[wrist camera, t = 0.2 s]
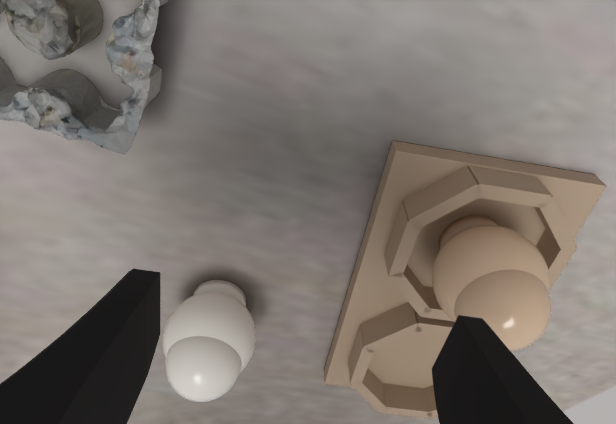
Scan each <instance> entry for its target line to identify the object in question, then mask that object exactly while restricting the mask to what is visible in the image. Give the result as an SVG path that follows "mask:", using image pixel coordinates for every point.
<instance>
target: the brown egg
mask: <svg viewBox="0 0 616 424" xmlns="http://www.w3.org/2000/svg"><path fill="white" fill-rule="evenodd" d="M439 249H440V250H439V252H438V254H437V256H436V258H435V261H434V265H433V270H432V285H433V290H434V294H435V296H436V299H437V301H438V303H439V305H440V306H441V308H442V310H443V311H444V312H445V313H446V314H447V316H448V317H449V318H450V319H451V320H453V321H454V322H455V321H456V319H457V317H458V315H462V316H469V317H476V318H482V319H483V320H484V321H485V322H486V323H487V324H488V325H489V326H490V328H491V329H492V330H493V331H494V332H495V333H496V335H497V336H498V337H499V338H500V339H501V341H502V342H503V343H504V344H505V345H506V347H507V348H508V349H509V350H510V351H517V350H520V349H523V348H526V347H528V346H530V345H531V344H533V343H534V342H536V341H537V340H538V339H539V338H540V337H541V336H542V335H543V333H544V332H545V330H546V328H547V327H548V324H549V321H550V317H551V301H550V297H549V293H550V274H549V270H548V266H547V264H546V261H545V259H544V257H543V255H542V254H541V252H540V251H539V250H538V248H537V247H536V246H535V245H534V244H533V243H532V242H531V241H530V240H529V239H527V238H526V237H525V236H523V235H522V234H520V233H518V232H516V231H514V230H512V229H509V228H506V227H502V226H499V224H498V223H497V222H496V221H495V220H493V219H492V218H490V217H487V216H483V215H469V216H464V217H461V218H459V219H457V220H455V221H453V222H452V223H451V224H449V225H448V226H447V227H446V228H445V229H444V231H443V232H442V234H441V236H440V239H439Z"/></svg>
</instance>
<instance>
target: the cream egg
mask: <svg viewBox="0 0 616 424" xmlns="http://www.w3.org/2000/svg"><path fill="white" fill-rule="evenodd" d="M255 345H256V329H255V324H254V321H253V318H252V316H251V314H250V312H249V311H248V310H247V308H246V297H245V294H244V293H243V291H242V290H241V289H240V288H239V287H238V286H236V285H235V284H233V283H230V282H227V281H223V280H210V281H207V282H204V283H202V284H200V285H199V286H198V287H197V288H196V290H195V292H194V295H193V296H192V297H189V298H188V299H186V300H185V301H183V302H182V303H181V304H180V305H178V306H177V307H176V309H175V310H174V311H173V312H172V314H171V315H170V317H169V319H168V321H167V323H166V326H165V329H164V333H163V351H164V355H165V358H166V365H165V366H166V374H167V378H168V380H169V383H170V385H171V386H172V387H173V389H174V390H175V391H176V392H177V393H178V394H179V395H180V396H182V397H184V398H185V399H188V400H191V401H195V402H207V401H212V400H215V399H217V398H219V397H221V396H223V395H224V394H225V393H227V392H228V391H229V390H230V389H231V388H232V386H233V385H234V384H235V382H236V381H237V379H238V376H239V374H240V373H241V372H242V371H243V370H244V368H245V367H246V366H247V365H248V363H249V361H250V359H251V357H252V355H253V353H254V349H255Z"/></svg>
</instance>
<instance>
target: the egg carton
mask: <svg viewBox="0 0 616 424" xmlns="http://www.w3.org/2000/svg"><path fill="white" fill-rule="evenodd" d="M167 2H168V0H142V6H140V7H138V8H137V9H135V11H134V13H132V14H130V15H128V16H122V17H119V18H118V19H117V20H116V21H115V22H114V23H113V25H112V26H113V31H112V33H111V35H110V37H109V39H108V41H107V42H106V53H107V58H108V60H109V62H110V64H111V69H112V71H113V72H114V73H116V74H117V75H119V76H121V77H122V82H123V83H124V84H126V85H128V86H130V87H131V88H132V89H133V90H134V93H133V95H132V96H131V97H129V98H127V99H126V100H124V101H123V102H122V103H121V104H120V109H116V108H113V107H110V106H108V105H106V103H105V102H104V101H102V99H101V98H100V95H99V93H98V91H97V89H96V88H95V86H94V85H93V84H92V83H91V82H90V81H89V80H88V79H87V78H86V77H85V76H84V75H82V74H80V73H79V72H76V71H74V70H70V69H60V70H57V71H54V72H52V73H50V74H49V75H47V76H45V77H44V78H42V79H41V80H39V81H37V82H36V83H34V84H33V85H31V86H29V87H27V88H26V87H23V86H20V85H17V83H16V81H15V79H14V77H13V75H12V72H11V70H10V69H9V67H8V66H7V64H6V63H5V62H4V60H3V59H1V58H0V120H14V121H19V122H24V123H26V124H29V125H30V126H32V127H34V128H35V129H38V130H44V131H49V132H52V133H54V134H57V135H59V136H62V137H64V138H66V139H67V140H90V141H93V142H94V143H96V144H97V145H99V146H101V147H103V148H105V149H108V150H112V151H115V152H118V153H122V154H126V153H127V152H128V151H129V149H130V147H131V144H132V142H133V139H134V137H135V135H136V132H137V130H138V127H139V123H140V120H141V117H142V113H143V109H144V108H145V107H146V106H147V105H148V104H149V102H150V101H151V100H152V99H154V98H155V97H156V96H157V94H158V92H159V91H160V89H161V79H162V69H161V68H160V67H158V66H157V65H155V64H153V63H154V56H153V53H152V51H151V43H152V40H153V37H154V34H155V30H156V26H157V22H158V13H159V6H161V5H163V4H165V3H167ZM145 4H148V5H147V6H145V7H144V5H145ZM4 8H5V12H6V17H7V21H8V25H9V29H10V30H11V32H12V33H13V34H14V35H15V36H16V37H17V38H18V39H19V40H20V41H21V42H22V43H23V44H24V46H25V47H26V48H28V49H30V50H31V51H33V52H35V53H37V54H39V55H41V56H43V57H44V58H46V59H48V60H52V59H56V58H60V57H64V56H66V55H69V54H71V53H72V52H74V51H75V50H77V49H78V48H80V47H82V46H83V45H85V44H87V43H88V42H90V41H91V40H93V39H94V38H96V37H97V36H98V35H99V34H100V31H101V29H102V26H103V12H102V9H101V6H100V4H99V2H98V0H0V13H1V12H2V11H3V10H4Z"/></svg>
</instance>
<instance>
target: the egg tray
mask: <svg viewBox="0 0 616 424" xmlns="http://www.w3.org/2000/svg"><path fill="white" fill-rule="evenodd" d="M606 187H607V186H606V185H605V184H604V183H603V182H602V181H601V180H600V179H599V178H598V177H597V176H595V175H594V174H588V173H582V172H576V171H570V170H564V169H559V168H553V167H547V166H541V165H535V164H529V163H523V162H517V161H511V160H505V159H499V158H494V157H488V156H482V155H476V154H470V153H464V152H458V151H452V150H446V149H440V148H434V147H428V146H423V145H417V144H411V143H405V142H399V141H393V140H392V144H391V147H390V150H389V154H388V157H387V160H386V164H385V167H384V170H383V174H382V177H381V181H380V184H379V187H378V191H377V194H376V197H375V201H374V204H373V207H372V211H371V214H370V217H369V221H368V224H367V227H366V231H365V234H364V238H363V241H362V244H361V248H360V251H359V254H358V258H357V261H356V264H355V268H354V271H353V274H352V278H351V281H350V285H349V288H348V291H347V295H346V298H345V301H344V305H343V308H342V311H341V315H340V318H339V321H338V325H337V328H336V331H335V335H334V338H333V342H332V345H331V348H330V352H329V355H328V358H327V362H326V365H325V368H324V384H330V385H338V386H346V387H353V388H354V389H355V390H356V391H357V392H358V393H359V394H360V395H361V396H362V397H363V398H364V399H365V400H366V401H367V402H368V403H369V404H370V405H371V406H372V407H373V408H374V409H375V410H376V411H377V412H379V413H385V414H393V415H402V416H410V417H418V418H427V419H430V418H431V419H432V418H435V417H437V416H438V414H437V409H436V402H435V395H434V387H433V378H432V367H433V365H434V363H435V361H436V359H437V357H438V355H439V353H440V351H441V349H442V347H443V345H444V343H445V341H446V339H447V337H448V335H449V333H450V331H451V329H452V327H453V325H454V323H455V322H454V321H453V320H451V319H450V318H449V317H448V316H447V314H446V313H445V312H444V311H443V310H442V308H441V306H440V305H439V303H438V301H437V299H436V296H435V294H434V290H433V285H432V270H433V265H434V261H435V258H436V256H437V254H438V252H439V250H440V249H439V239H440V236H441V234H442V232H443V231H444V229H445V228H446V227H447V226H448V225H449V224H451V223H452V222H453V221H455V220H457V219H459V218H461V217H464V216H469V215H483V216H487V217H490V218H492V219H493V220H495V221H496V222H497V223H498V224H499V226H502V227H506V228H509V229H512V230H514V231H516V232H518V233H520V234H522V235H523V236H525V237H526V238H527V239H529V240H530V241H531V242H532V243H533V244H534V245H535V246H536V247H537V248H538V250H539V251H540V252H541V254H542V255H543V257H544V259H545V261H546V264H547V266H548V270H549V274H550V290H551V288H552V287H553V285H554V283H555V282H556V280H557V279H558V277H559V276H560V274H561V272H562V271H563V269H564V268H565V266H566V264H567V263H568V261H569V260H570V258H571V256H572V255H573V253H574V252H575V250H576V248H577V247H576V246H577V245H576V243H575V241H574V239H575V237H576V235H577V234H578V232H579V230H580V229H581V227H582V226H583V224H584V222H585V221H586V219H587V217H588V216H589V214H590V213H591V211H592V209H593V208H594V206H595V204H596V203H597V201H598V200H599V198H600V196H601V195H602V193H603V191H604V190H605V188H606Z"/></svg>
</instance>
